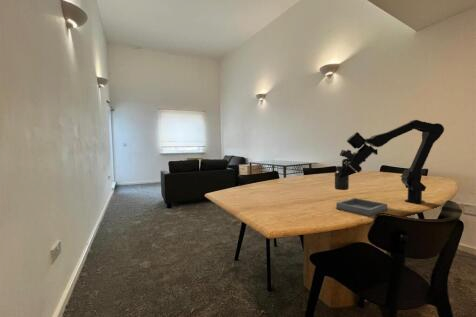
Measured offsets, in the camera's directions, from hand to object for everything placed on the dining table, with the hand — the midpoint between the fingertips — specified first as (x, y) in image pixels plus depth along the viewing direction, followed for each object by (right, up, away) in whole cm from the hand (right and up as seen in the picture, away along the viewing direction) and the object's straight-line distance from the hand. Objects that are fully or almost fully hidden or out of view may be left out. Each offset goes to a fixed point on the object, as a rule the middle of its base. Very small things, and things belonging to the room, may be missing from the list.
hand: (338, 176), depth 128 cm
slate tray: (+3, -14, -18) cm, 23 cm away
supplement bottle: (+2, -7, 0) cm, 7 cm away
